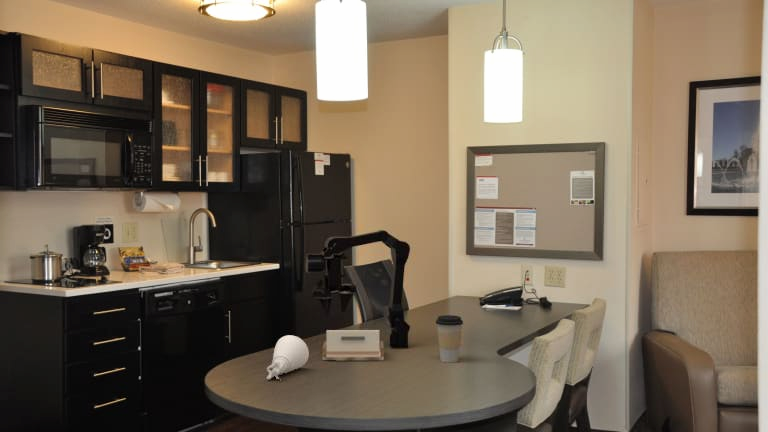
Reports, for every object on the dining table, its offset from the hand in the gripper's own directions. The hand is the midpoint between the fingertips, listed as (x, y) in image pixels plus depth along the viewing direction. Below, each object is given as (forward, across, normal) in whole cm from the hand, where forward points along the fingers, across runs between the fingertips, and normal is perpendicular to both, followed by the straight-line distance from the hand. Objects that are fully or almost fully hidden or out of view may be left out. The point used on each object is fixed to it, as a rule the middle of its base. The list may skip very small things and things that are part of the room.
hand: (335, 314), depth 263 cm
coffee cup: (+14, -11, +42) cm, 45 cm away
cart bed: (+13, +4, +11) cm, 18 cm away
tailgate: (+12, +10, +16) cm, 22 cm away
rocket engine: (+13, +37, +8) cm, 40 cm away
